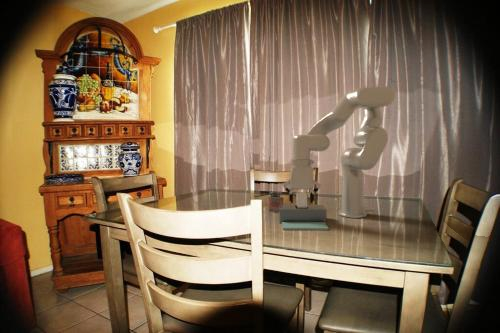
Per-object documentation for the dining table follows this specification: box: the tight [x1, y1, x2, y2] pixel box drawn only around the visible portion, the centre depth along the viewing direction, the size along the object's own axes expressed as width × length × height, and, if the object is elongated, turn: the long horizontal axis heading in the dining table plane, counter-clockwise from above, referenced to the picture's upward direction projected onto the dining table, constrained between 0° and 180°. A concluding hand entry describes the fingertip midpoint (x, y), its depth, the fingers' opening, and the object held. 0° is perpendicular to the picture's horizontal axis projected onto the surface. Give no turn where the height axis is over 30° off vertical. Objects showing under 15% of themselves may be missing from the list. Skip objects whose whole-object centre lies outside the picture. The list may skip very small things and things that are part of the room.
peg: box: [295, 192, 308, 209], centre depth 126 cm, size 4×4×12 cm
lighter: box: [267, 191, 284, 214], centre depth 142 cm, size 8×3×10 cm, turn 62°
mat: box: [281, 222, 329, 231], centre depth 117 cm, size 18×8×1 cm, turn 86°
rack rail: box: [278, 204, 328, 224], centre depth 126 cm, size 20×9×6 cm, turn 86°
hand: (301, 202), depth 126 cm, fingers open, 8 cm apart
